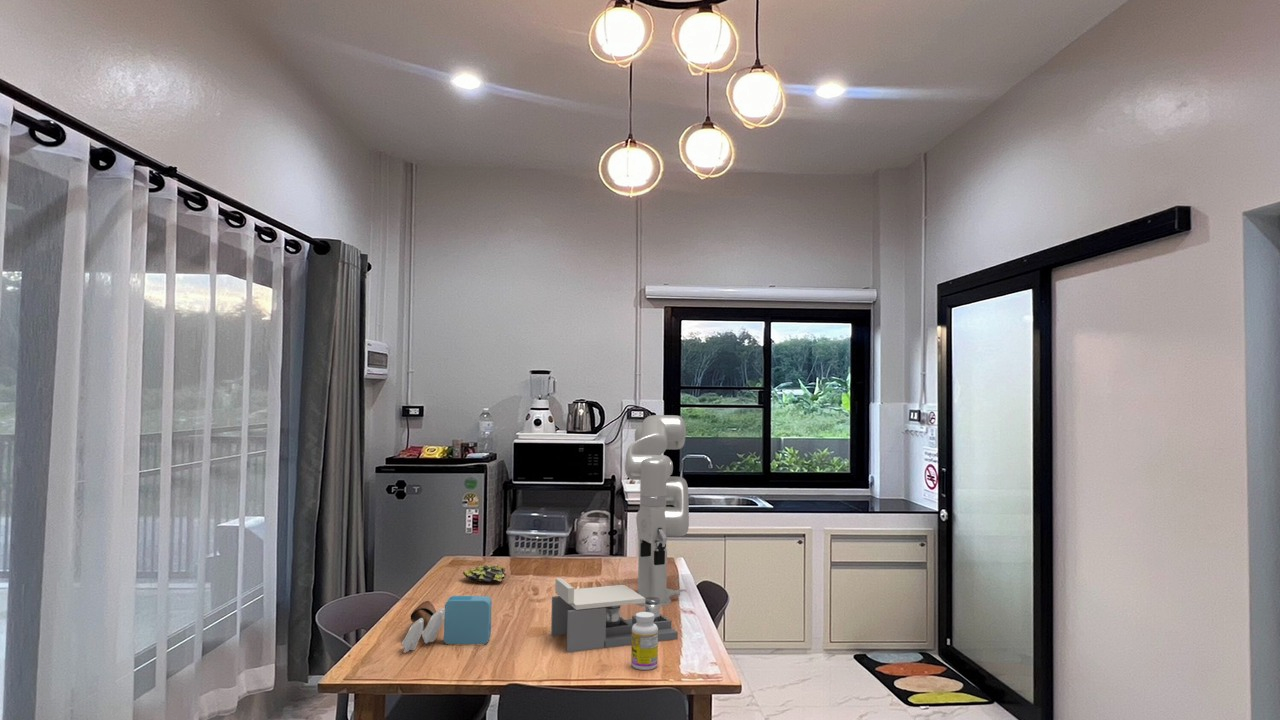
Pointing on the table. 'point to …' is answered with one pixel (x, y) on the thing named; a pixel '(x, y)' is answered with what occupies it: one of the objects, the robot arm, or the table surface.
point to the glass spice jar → (613, 616)
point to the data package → (467, 620)
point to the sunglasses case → (423, 613)
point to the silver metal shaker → (653, 607)
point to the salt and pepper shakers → (427, 634)
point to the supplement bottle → (644, 642)
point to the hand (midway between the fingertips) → (652, 560)
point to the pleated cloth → (486, 573)
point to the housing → (597, 627)
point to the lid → (596, 595)
